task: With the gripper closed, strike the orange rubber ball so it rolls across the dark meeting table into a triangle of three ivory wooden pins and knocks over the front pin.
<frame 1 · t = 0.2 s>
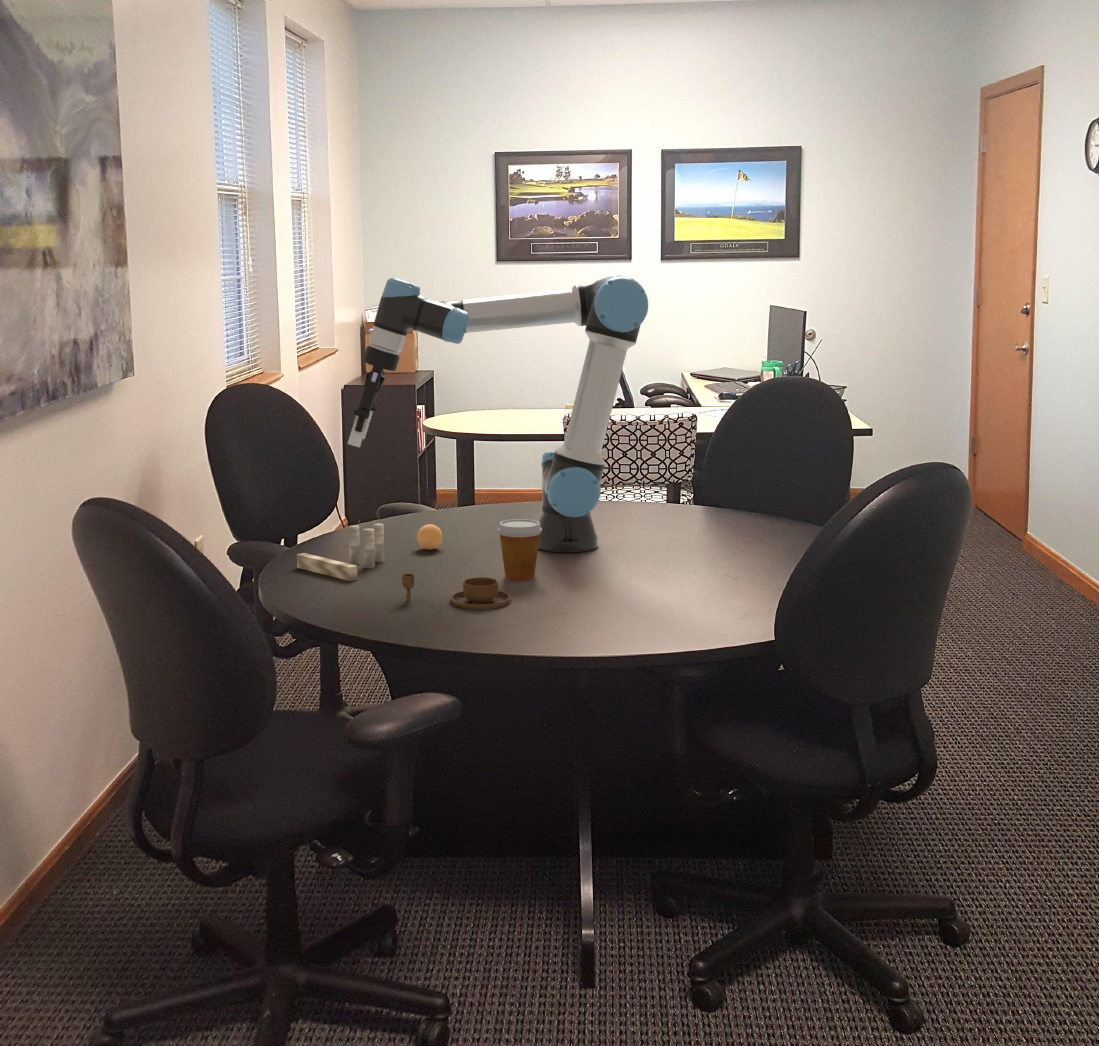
hand: (356, 441, 263), 28 cm above the table, tool tilted 20°, fingers open, 13 cm apart
front pin: (379, 561, 269), on the table
white marbled bar: (326, 573, 258), on the table
disposable coffee cup: (519, 578, 255), on the table
ball: (429, 536, 281), on the table
back pin left: (369, 566, 264), on the table
place setting: (463, 603, 239), on the table
back pin right: (354, 563, 267), on the table
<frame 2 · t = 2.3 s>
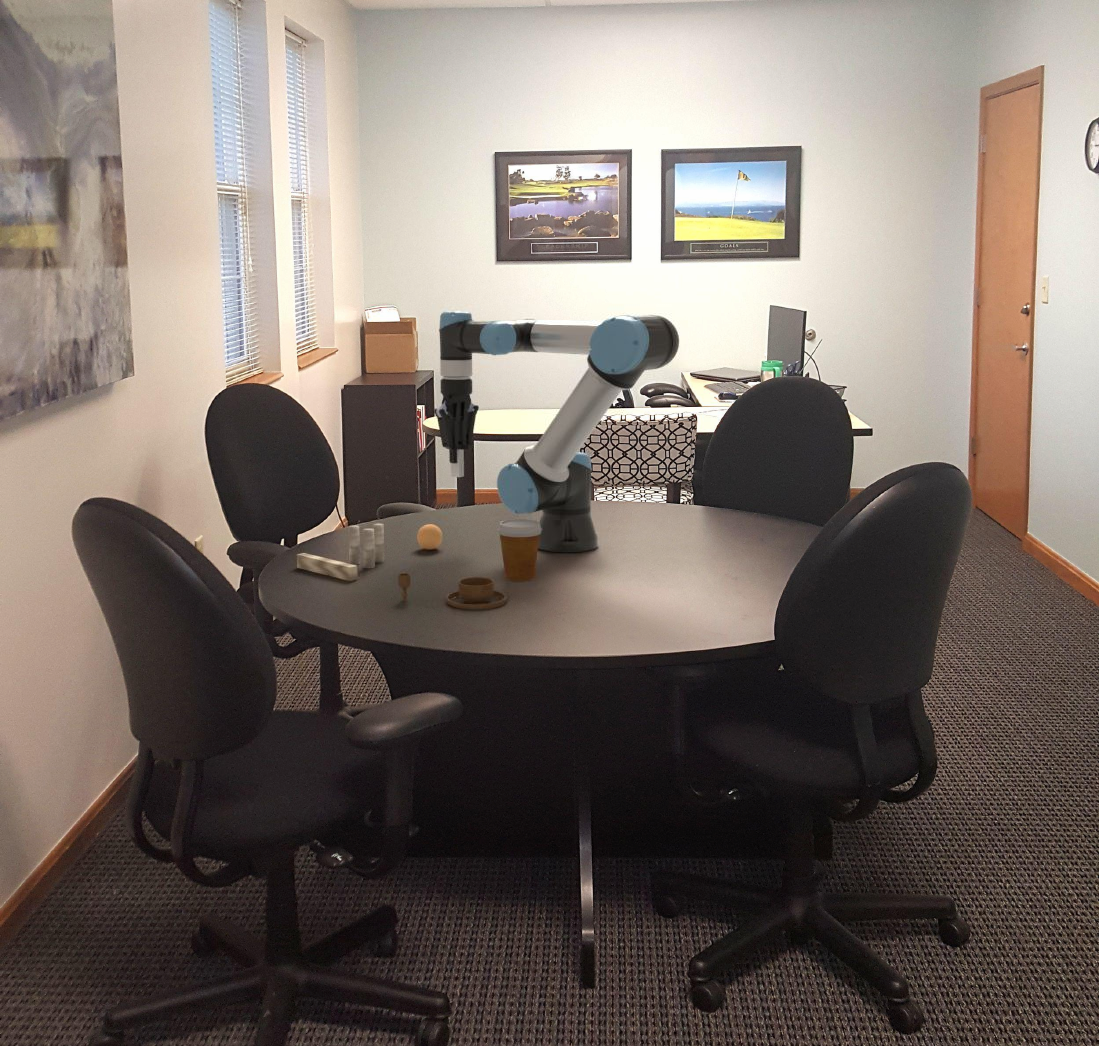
hand: (457, 476, 285), 16 cm above the table, tool pointing down, fingers closed
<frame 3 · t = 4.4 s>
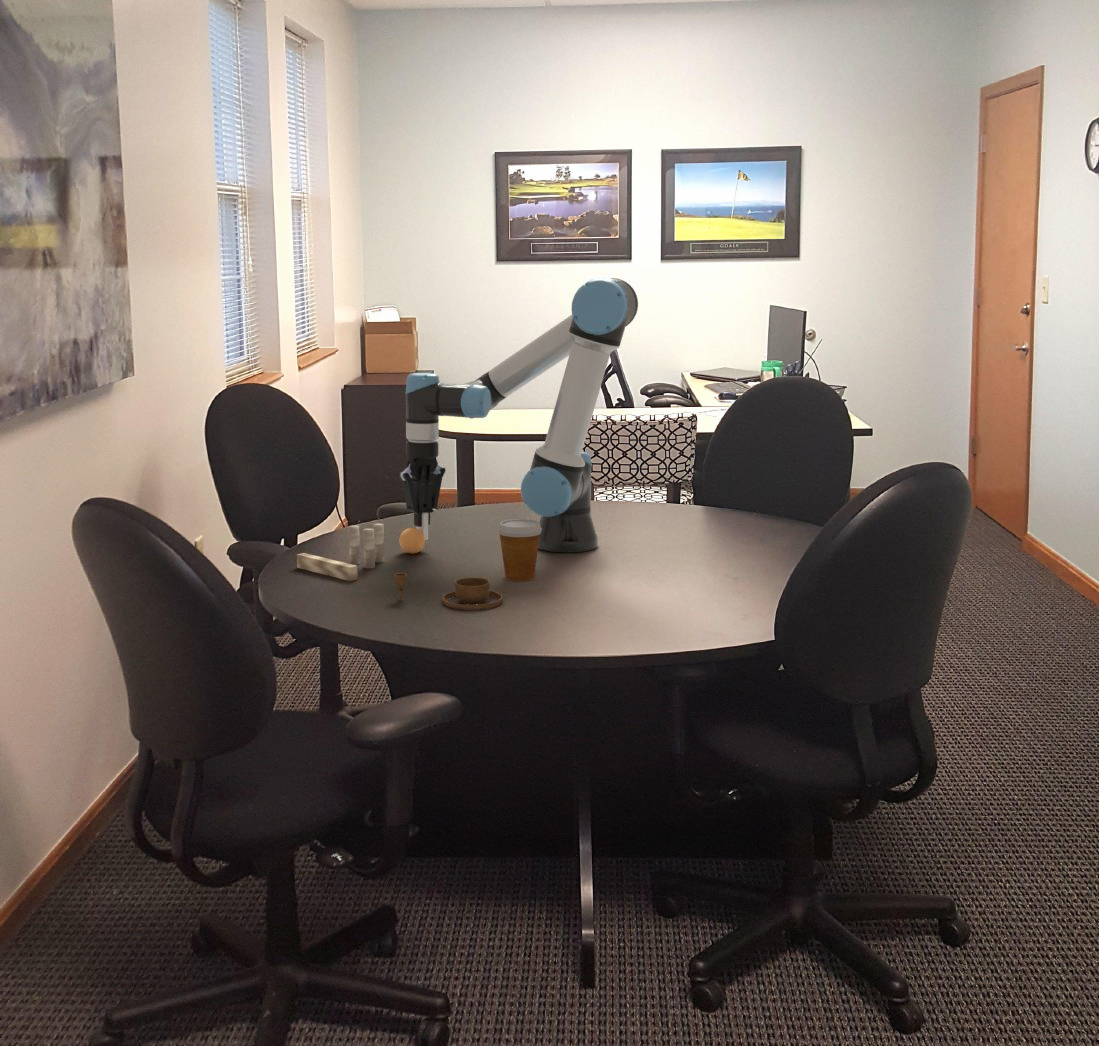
hand: (422, 539, 280), 3 cm above the table, tool pointing down, fingers closed
ball: (412, 540, 277), on the table
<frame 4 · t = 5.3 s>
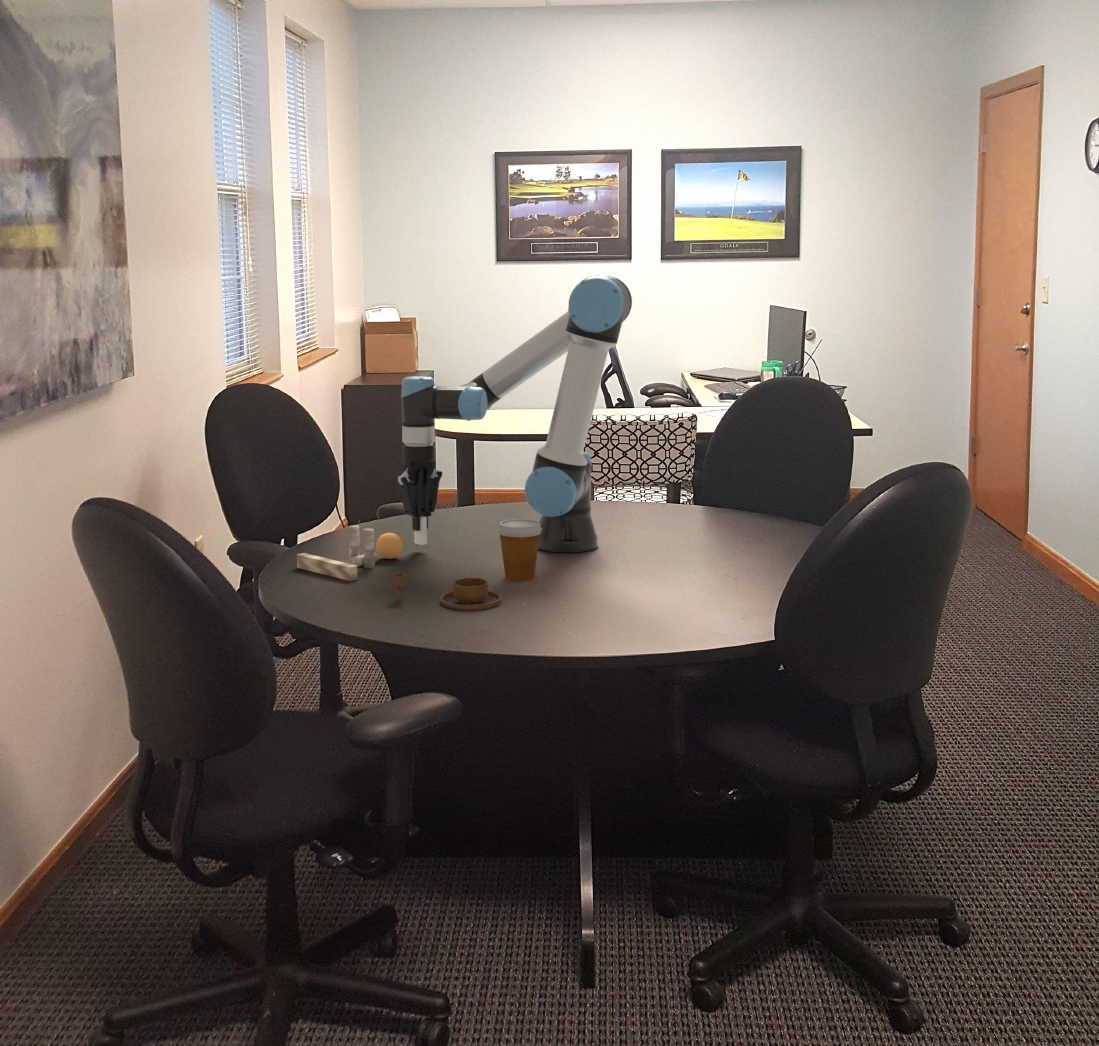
hand: (420, 543, 279), 2 cm above the table, tool pointing down, fingers closed
front pin: (374, 557, 268), point 1 cm above the table, tilted 90°
ball: (389, 545, 271), on the table
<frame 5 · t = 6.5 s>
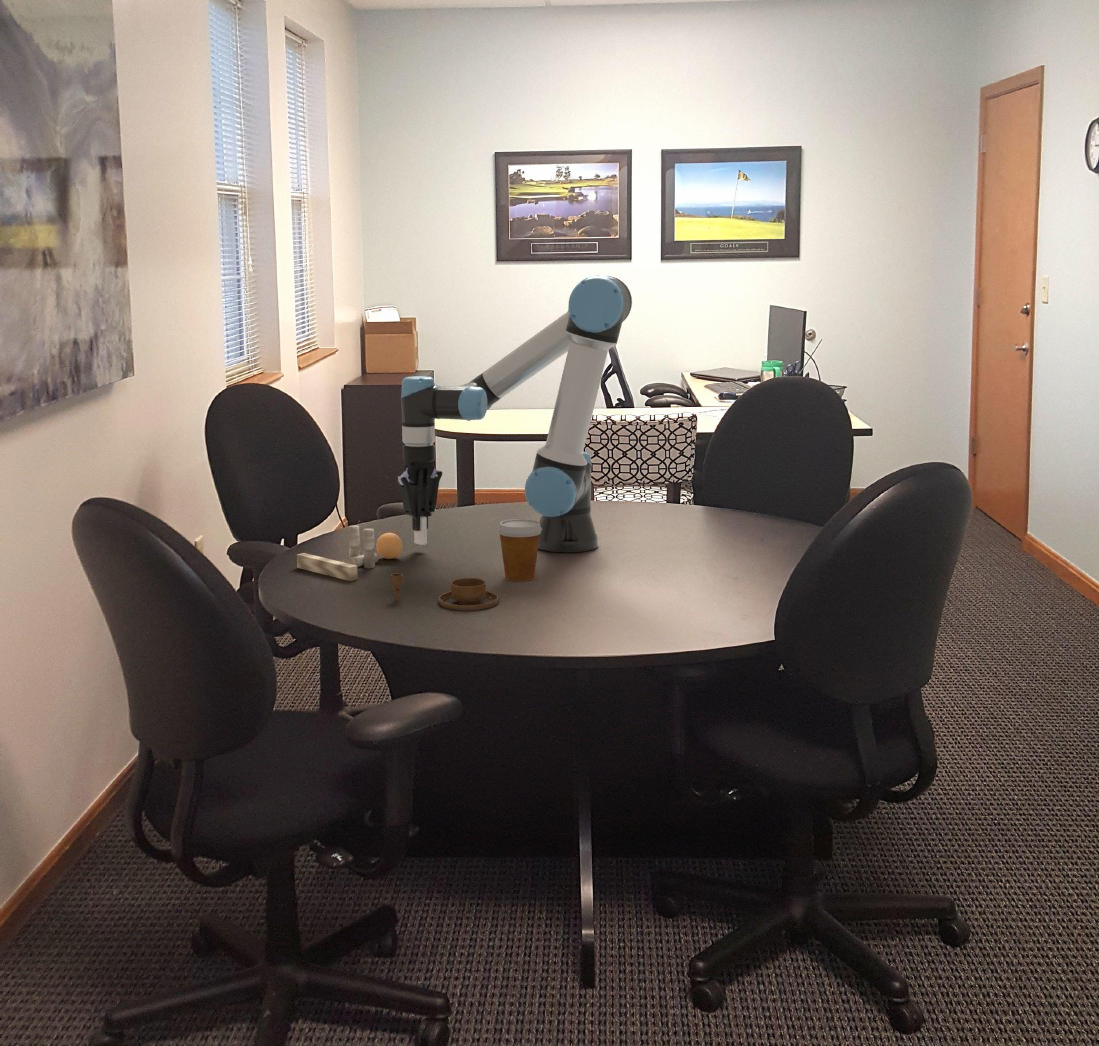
hand: (420, 543, 279), 2 cm above the table, tool pointing down, fingers closed
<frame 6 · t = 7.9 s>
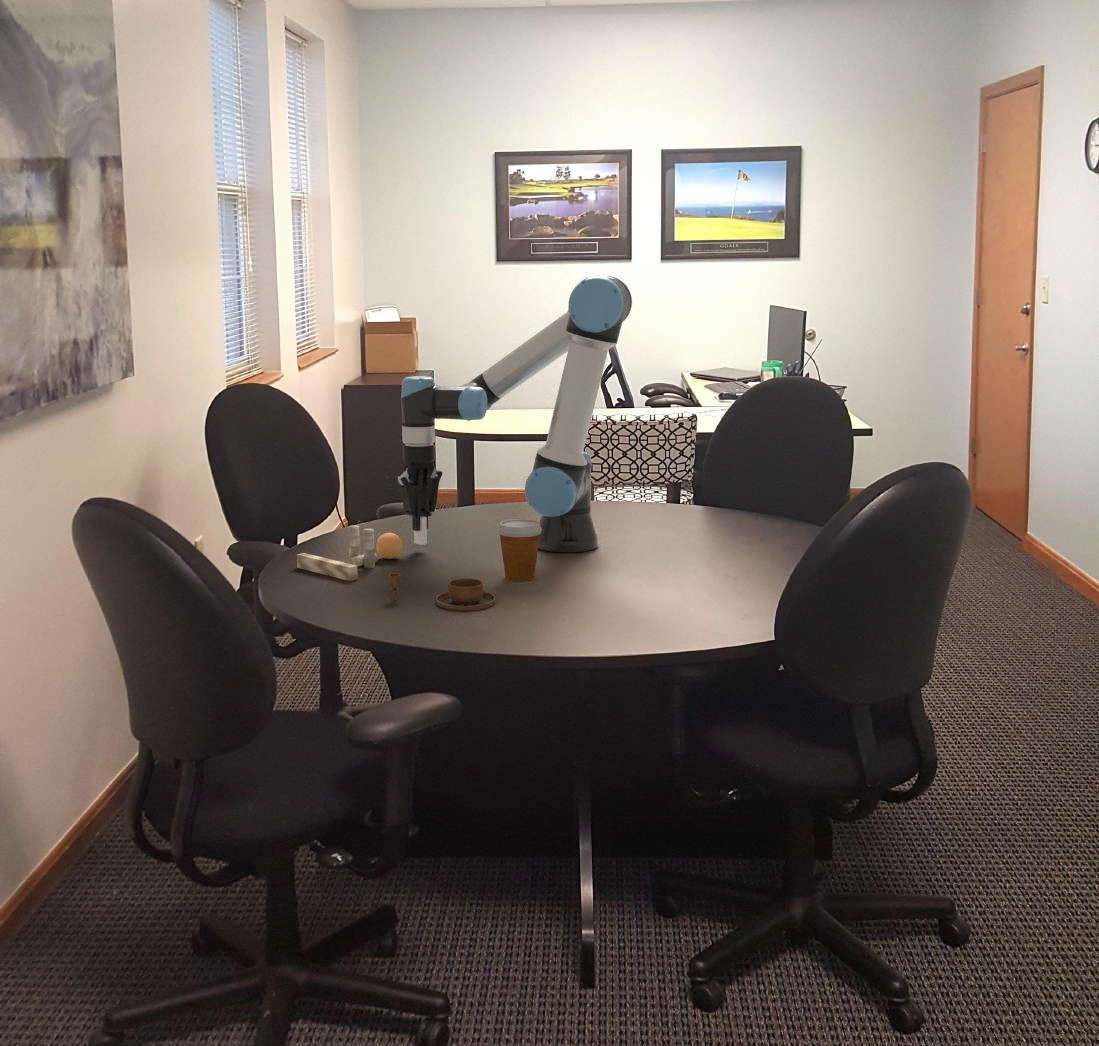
hand: (420, 543, 279), 2 cm above the table, tool pointing down, fingers closed
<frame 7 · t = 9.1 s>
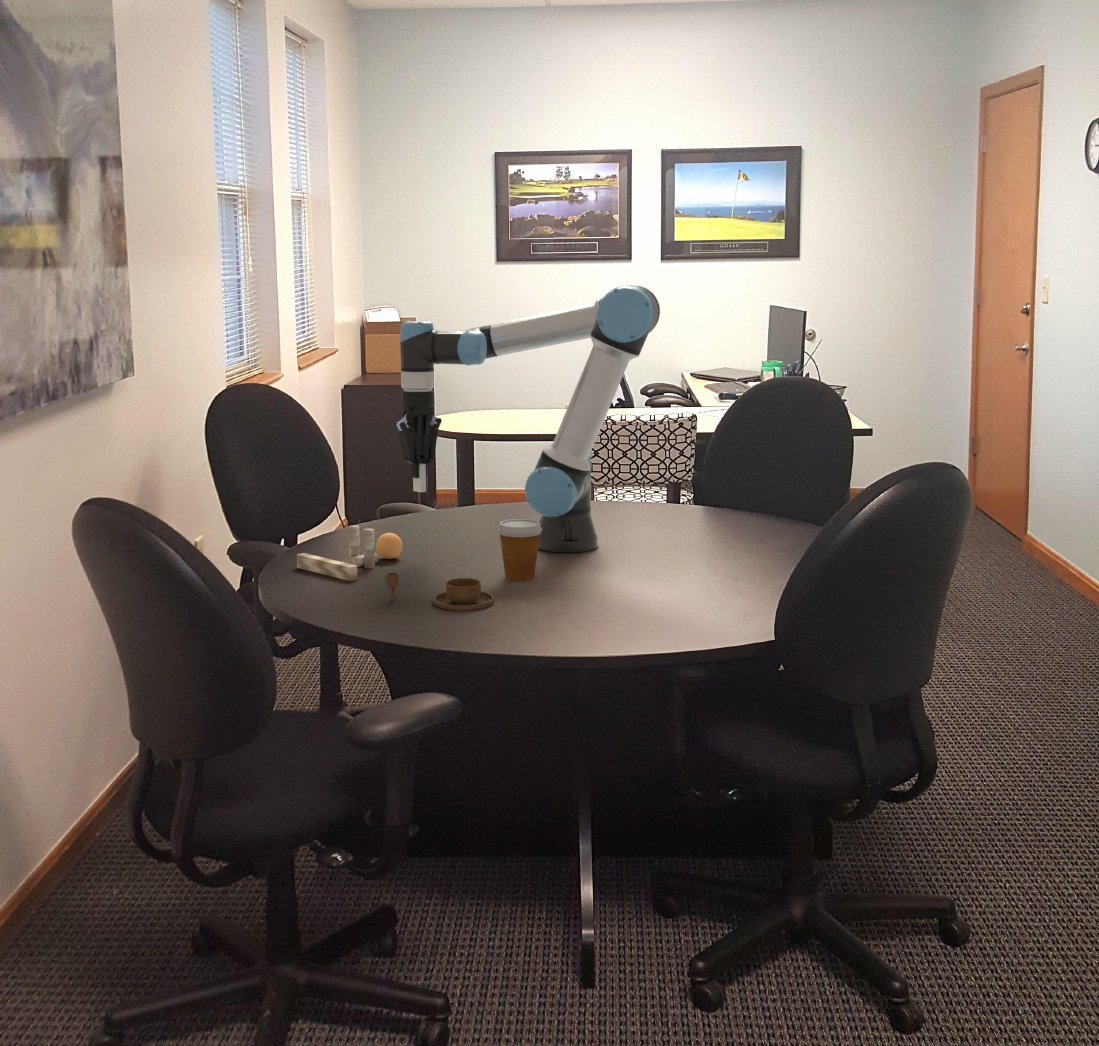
hand: (419, 491, 276), 14 cm above the table, tool pointing down, fingers closed
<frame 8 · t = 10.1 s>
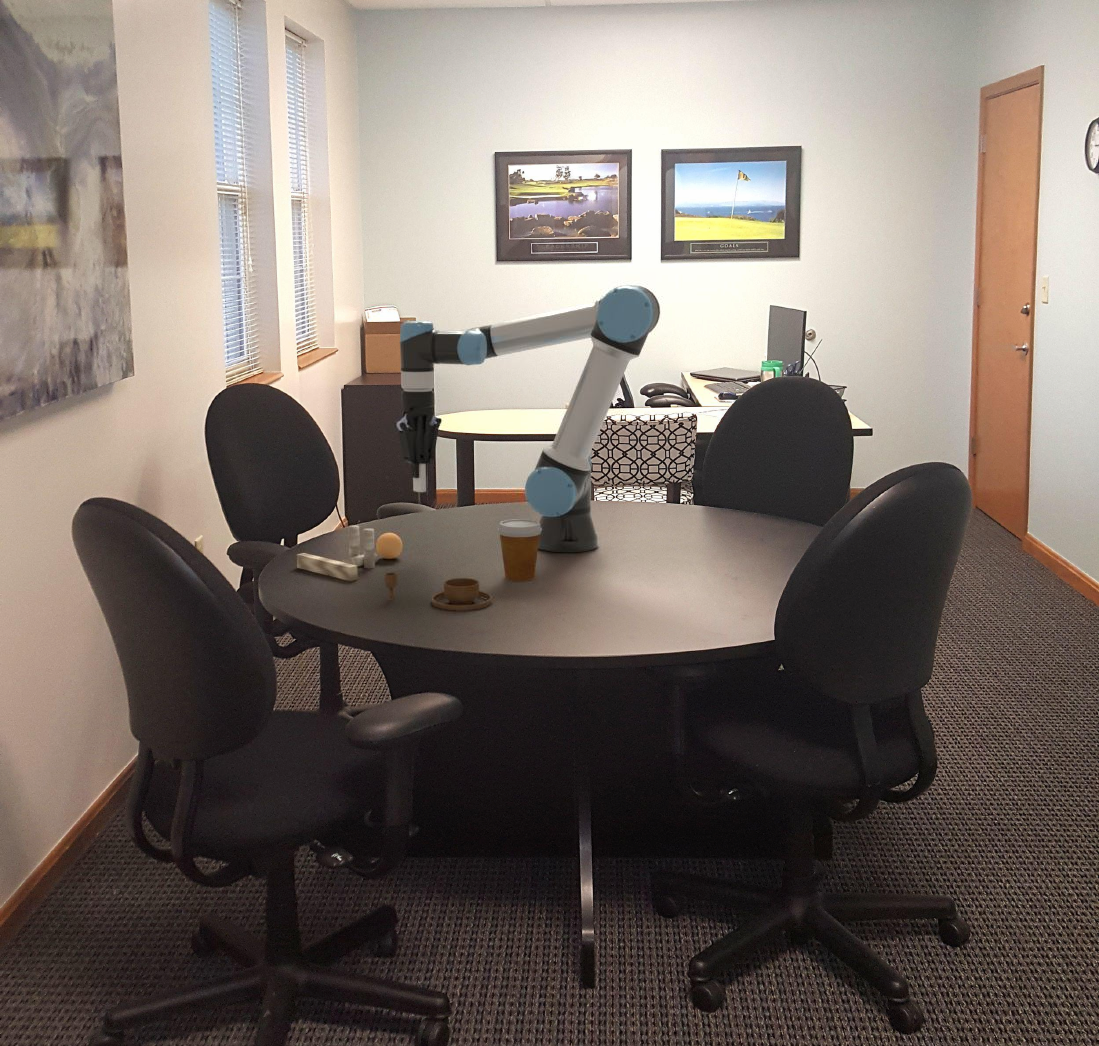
hand: (419, 491, 276), 14 cm above the table, tool pointing down, fingers closed
at the end: front pin tilted 90°; front pin never touched the robot; ball moved 12.7 cm from its start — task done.
